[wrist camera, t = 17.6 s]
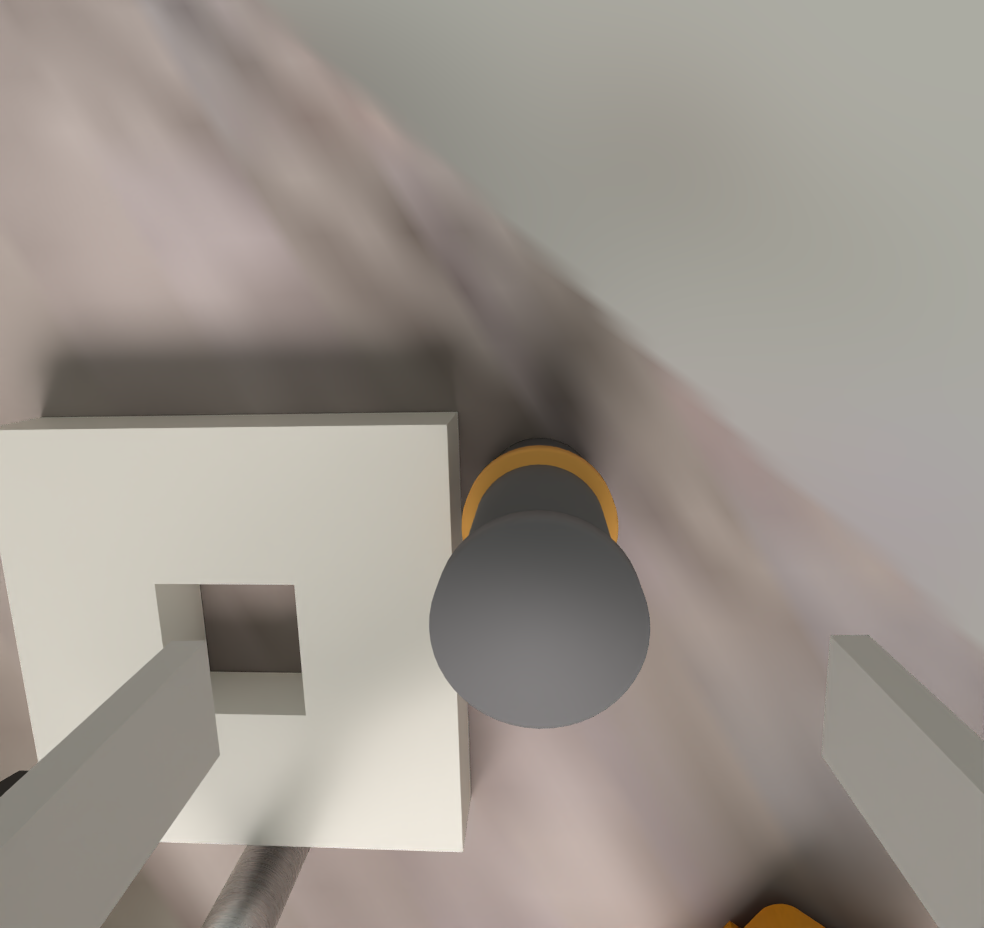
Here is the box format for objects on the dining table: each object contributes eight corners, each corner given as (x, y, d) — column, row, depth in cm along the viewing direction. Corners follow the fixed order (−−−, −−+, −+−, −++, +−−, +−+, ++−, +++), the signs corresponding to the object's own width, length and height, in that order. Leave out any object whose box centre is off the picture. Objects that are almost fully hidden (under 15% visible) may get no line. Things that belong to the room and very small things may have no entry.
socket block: (100, 786, 30) (52, 838, 27) (40, 417, 26) (-23, 430, 24) (471, 796, 29) (462, 852, 26) (457, 411, 25) (446, 424, 22)
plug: (476, 552, 26) (428, 730, 15) (473, 427, 25) (419, 519, 14) (604, 552, 26) (651, 734, 15) (605, 426, 25) (658, 518, 14)
